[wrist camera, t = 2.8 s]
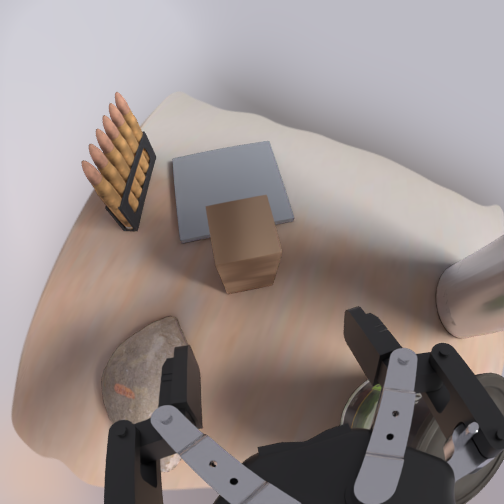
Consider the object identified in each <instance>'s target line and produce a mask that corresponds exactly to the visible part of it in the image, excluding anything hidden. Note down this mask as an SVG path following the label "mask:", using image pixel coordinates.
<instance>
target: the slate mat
mask: <svg viewBox="0 0 504 504" xmlns="http://www.w3.org/2000/svg"><path fill="white" fill-rule="evenodd" d="M173 173H174V185H175V197H176V207H177V217H178V226H179V234H180V241H181V243H186V242H191V241H196V240H201V239H205V238H210V232H209V226H208V219H207V213H206V207H205V206H209V205H214V204H219V203H224V202H229V201H235V200H240V199H245V198H251V197H256V196H262V195H267V197H268V201H269V204H270V208H271V211H272V215H273V219H274V222H275V225H276V224H281V223H287V222H292V221H293V220H294V215H293V212H292V209H291V206H290V203H289V199H288V196H287V193H286V190H285V187H284V184H283V181H282V178H281V175H280V172H279V169H278V166H277V163H276V160H275V157H274V154H273V151H272V148H271V145H270V142H269V141H264V142H257V143H251V144H245V145H239V146H233V147H227V148H222V149H216V150H211V151H206V152H201V153H197V154H192V155H187V156H183V157H178V158H174V159H173Z"/></svg>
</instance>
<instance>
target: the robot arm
mask: <svg viewBox="0 0 504 504" xmlns="http://www.w3.org/2000/svg"><path fill="white" fill-rule="evenodd" d="M436 301H437V309H438V313H439V316H440V319H441V321H442V323H443V325H444V327H445V328H446V329H447V331H448V332H449V333H451V334H452V335H453V336H455V337H458V338H469V337H474V336H480V335H485V334H490V333H495V332H500V331H504V235H502V236H501V237H499V238H498V239H496V240H494V241H493V242H491V243H490V244H488V245H486V246H485V247H483V248H481V249H480V250H478V251H476V252H475V253H473V254H471V255H469V256H468V257H466V258H464V259H462V260H461V261H459V262H457V263H455V264H454V265H452V266H450V267H449V268H447V269H446V270H445V271H444V273H443V274H442V276H441V278H440V280H439V283H438V286H437V294H436ZM344 338H345V341H346V343H347V345H348V346H349V348H350V350H351V351H352V353H353V355H354V356H355V358H356V360H357V361H358V363H359V365H360V366H361V368H362V370H363V371H364V373H365V375H366V376H367V378H368V380H369V381H370V383H371V385H372V386H375V385H377V384H380V386H381V387H382V388H381V391H380V395H379V399H378V403H377V407H376V410H375V414H374V417H373V421H372V424H371V427H370V429H365V428H350V427H349V424H348V423H346V424H343V425H340V426H338V427H334V428H331V429H328V430H326V431H324V432H322V433H321V434H319V435H317V436H315V437H313V438H311V439H310V440H308V441H305V442H282V443H276V444H272V445H267V446H262V447H258V452H259V453H257V454H254V455H253V456H251V457H249V458H248V459H246V460H245V461H244V462H243V463H242V464H241V463H240V462H239V461H238V460H236V459H235V458H234V457H233V456H231V455H230V454H229V453H228V452H227V451H225V450H224V449H223V448H222V447H221V446H219V445H218V444H217V443H216V442H215V441H214V440H212V439H211V438H210V437H209V436H208V435H206V434H205V435H204V434H203V433H202V432H201V431H199V430H198V429H199V428H202V409H201V383H200V371H199V367H198V364H197V361H196V359H195V357H194V354H193V352H192V349H191V347H190V345H185V346H178V347H175V348H174V357H173V358H167V359H166V361H165V362H164V364H163V366H162V373H161V375H162V376H161V383H160V392H159V403H158V408H157V409H156V410H155V411H154V412H153V413H152V415H151V417H150V418H149V419H147V420H144V421H141V422H138V423H136V424H133V423H132V422H130V421H128V420H119V421H117V422H115V423H114V424H113V425H112V426H111V427H110V429H109V435H108V444H107V455H106V469H105V490H104V504H163V496H162V482H161V465H160V459H162V458H165V457H168V456H171V455H173V454H176V453H177V454H178V455H179V456H180V457H181V458H182V459H183V460H184V461H185V462H186V463H187V464H188V465H189V466H190V467H191V468H192V469H193V470H194V471H195V472H196V473H197V474H198V475H199V476H200V477H201V478H202V479H203V480H204V481H205V482H206V483H207V484H208V485H210V486H211V487H212V488H213V489H214V490H215V491H216V492H217V493H219V494H220V495H219V496H218V498H217V499H216V500H215V502H214V503H213V504H456V503H455V496H454V488H455V482H457V481H458V480H460V479H461V478H463V477H464V476H466V475H467V474H474V473H476V472H478V471H479V470H480V469H482V468H483V467H484V466H485V465H487V464H488V463H489V462H490V461H491V460H493V459H494V458H495V457H496V456H497V455H498V454H499V453H501V452H502V451H503V450H504V416H503V414H502V413H501V411H500V410H499V408H498V407H497V405H496V404H495V402H494V401H493V400H492V398H491V397H490V395H489V394H488V392H487V391H486V390H485V388H484V387H483V385H482V384H481V383H480V381H479V380H478V379H477V377H476V376H475V375H474V373H473V372H472V371H471V369H470V368H469V367H468V365H467V364H466V363H465V361H464V360H463V359H462V358H461V356H460V355H459V354H458V353H457V351H456V350H455V349H454V348H453V347H452V346H451V345H449V344H446V343H439V344H436V345H435V346H434V347H433V348H432V351H431V352H428V353H421V354H415V353H414V352H413V351H412V350H410V349H407V348H402V347H401V346H400V344H399V343H398V342H397V340H396V339H395V338H394V337H393V335H392V334H391V333H390V332H389V330H387V328H386V327H385V325H383V323H382V322H381V320H380V319H379V318H378V317H376V316H375V315H373V314H371V313H368V314H366V313H365V312H364V311H363V310H362V308H361V307H359V306H358V307H355V308H352V309H348V310H346V311H345V319H344ZM418 393H420V394H421V395H422V397H423V399H424V401H425V402H426V404H427V406H428V407H429V409H430V411H431V413H432V414H433V416H434V418H435V420H436V422H437V423H438V425H439V427H440V429H441V431H442V432H443V434H444V436H445V438H446V441H445V443H444V447H443V450H444V454H445V460H443V459H441V458H439V457H436V456H433V455H431V454H428V453H425V452H423V451H420V450H418V449H415V448H413V447H410V446H408V445H407V441H408V436H409V431H410V426H411V421H412V416H413V410H414V403H415V397H416V394H418Z"/></svg>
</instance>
